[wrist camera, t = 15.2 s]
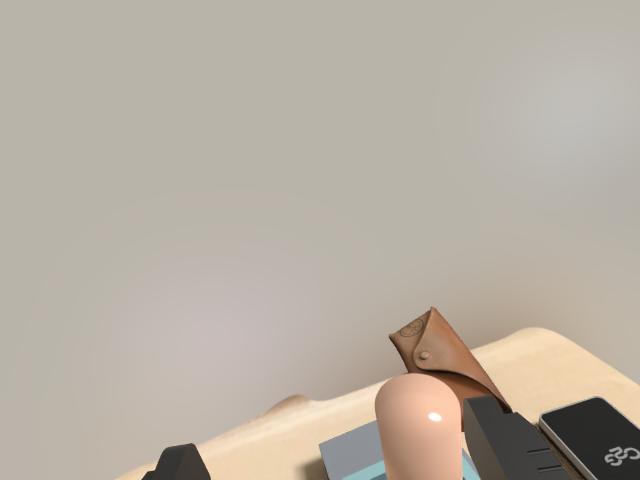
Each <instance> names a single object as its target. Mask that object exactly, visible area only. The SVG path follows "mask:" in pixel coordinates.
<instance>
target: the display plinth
mask: <svg viewBox="0 0 640 480" xmlns="http://www.w3.org/2000/svg"><path fill="white" fill-rule="evenodd" d="M318 445H319V448H320V451H321V455H322V458H323V462H324V465H325V468H326V471H327V474H328V477H329V480H387V476H386V471H385V465H384V459H383V453H382V447H381V441H380V435H379V430H378V424H377V420H375V421H373V422H371V423H368V424H366V425H363V426H361V427H359V428H356V429H354V430H352V431H349V432H347V433H344V434H342V435H340V436H337V437H335V438H333V439H330V440H328V441H325V442H323V443H321V444H318ZM462 469H463V480H481V479H480V477H479V474H478V472H477V470H476V468H475V465H474V463H473V461H472V460H471V459H470V457H469V456H468V455H467V453H466V452H465V451H464V449H463V448H462Z"/></svg>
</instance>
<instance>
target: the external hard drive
mask: <svg viewBox="0 0 640 480" xmlns="http://www.w3.org/2000/svg"><path fill="white" fill-rule="evenodd" d="M539 428H540V430H541V431H542V432H543V433H544V435H545V436H546V437H547V438H548V439H549V440H550V441H551V442H552V444H553V445H554V446H555V447H556V448H557V449H558V450H559V452H560V453H561V454H562V455H563V456H564V457H565V458H566V459H567V461H568V462H569V463H570V464H571V465H572V466H573V467H574V469H575V470H576V471H577V472H578V473H579V474H580V475H581V476H582V478H583V479H584V480H640V428H639V427H638V426H637V425H635V424H634V423H633V422H632V421H631V420H629V419H628V418H627V417H626V416H625V415H624V414H622V413H621V412H620V411H619V410H618V409H616V408H615V407H614V406H613V405H612V404H610V403H609V402H608V401H607V400H605V399H604V398H602V397H599V396H594V397H591V398H588V399H584V400H581V401H578V402H575V403H572V404H569V405H566V406H563V407H559V408H556V409H553V410H550V411H547V412H544V413H541V414H540V419H539Z"/></svg>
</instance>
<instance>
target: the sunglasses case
mask: <svg viewBox="0 0 640 480" xmlns="http://www.w3.org/2000/svg"><path fill="white" fill-rule="evenodd" d="M389 338H390V340H391V341H392V343H393V344H394V346H395V347H396V348H397V350H398V352H399V354H400V356H401V358H402V360H403V361H404V363H405V366H406V368H407V370H408V372H409V374H411V373H416V374H424V375H428V376H431V377H434V378H436V379H438V380H440V381H442V382H443V383H445V384H446V385H447V386H448V387H449V388H450V389H451V390H452V391H453V392H454V394H455V395H456V397H457V399H458V401H459V404H460V410H461V432H465V431H464V413H463V399H465V398H471V397H477V396H483V395H492V396H493V398H494V399H495V400H496V402H497V404H498V405H499V407H500V409H501V410H502V412H503V414H509V413H513V411H512V409H511V407H510V406H509V405H508V403H507V402H506V401H505V399H504V398H503V396H502V395H501V393H500V392H499V390H498V389H497V388H496V386H495V385H494V383H493V382H492V380H491V379H490V377H489V376H488V375H487V373H486V372H485V371H484V369H483V368H482V367H481V365H480V364H479V362H478V361H477V360H476V359H475V357H474V356H473V355H472V353H471V352H470V351H469V349H468V348H467V347H466V345H465V344H464V343H463V341H462V340H461V339H460V338H459V336H458V335H457V334H456V332H455V331H454V330H453V329H452V327H451V326H450V325H449V324H448V322H447V321H446V320H445V319H444V318H443V317H442V315H441V314H440V313H439V312H438V311H437V309H436V308H434V307H431V310H429V311H427V312H426V313H425V314H423V315H422V316H420V317H418V318H417V319H415V320H414V321H413V322H411V323H409V324H408V325H406V326H405V327H403V328H402V329H400V330H399V331H397V332H396V333H393V334H390V335H389Z"/></svg>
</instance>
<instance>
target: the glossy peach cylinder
mask: <svg viewBox="0 0 640 480" xmlns="http://www.w3.org/2000/svg"><path fill="white" fill-rule="evenodd" d="M375 412H376V418H377V424H378V430H379V435H380V441H381V447H382V453H383V459H384V465H385V471H386V476H387V480H463V469H462V438H461V410H460V404H459V401H458V399H457V397H456V395H455V394H454V392H453V391H452V390H451V389H450V388H449V387H448V386H447V385H446V384H445V383H443V382H442V381H440V380H438V379H436V378H434V377H431V376H428V375H424V374H416V373H411V374H404V375H400V376H397V377H394V378H392V379H391V380H389V381H387V382H386V383H385V384H384V385H383V386H382V387H381V388H380V390H379V392H378V393H377V396H376V399H375Z"/></svg>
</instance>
